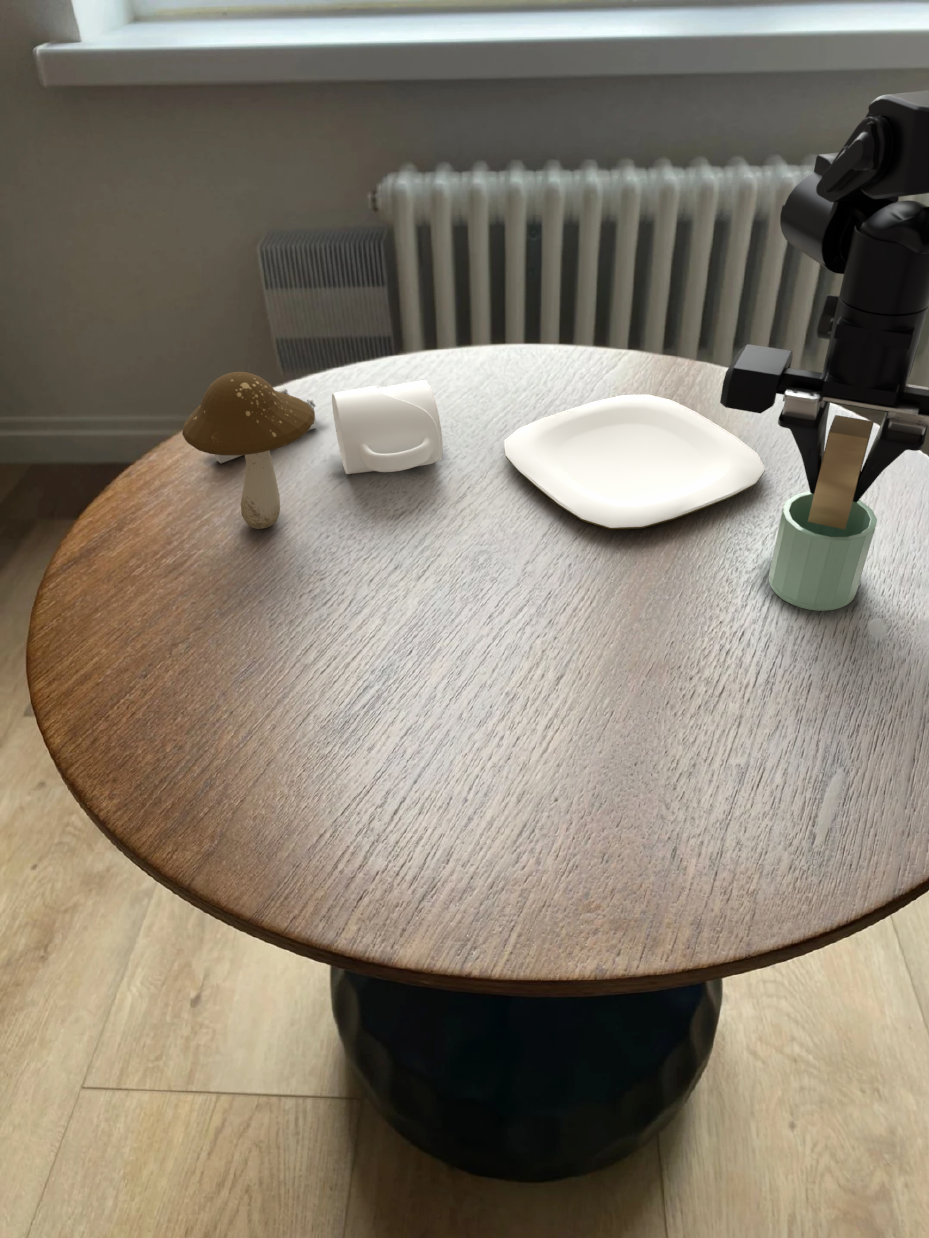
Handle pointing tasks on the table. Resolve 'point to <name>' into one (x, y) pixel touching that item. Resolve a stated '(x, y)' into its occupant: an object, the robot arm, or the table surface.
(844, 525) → the stick
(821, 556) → the cup
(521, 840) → the table surface
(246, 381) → the mushroom
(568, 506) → the plate
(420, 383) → the mug
